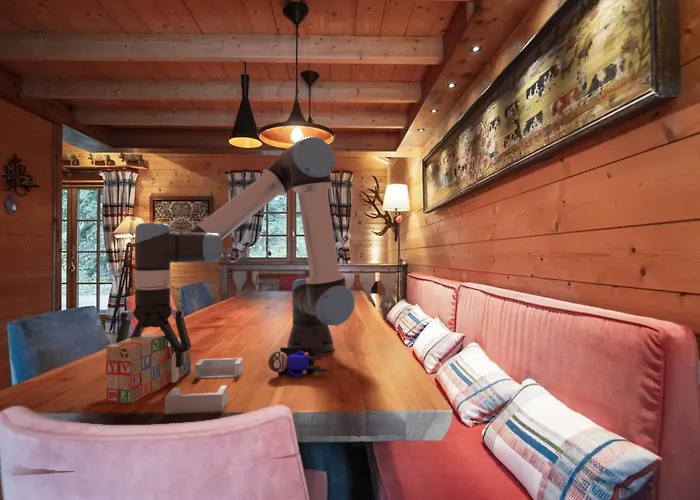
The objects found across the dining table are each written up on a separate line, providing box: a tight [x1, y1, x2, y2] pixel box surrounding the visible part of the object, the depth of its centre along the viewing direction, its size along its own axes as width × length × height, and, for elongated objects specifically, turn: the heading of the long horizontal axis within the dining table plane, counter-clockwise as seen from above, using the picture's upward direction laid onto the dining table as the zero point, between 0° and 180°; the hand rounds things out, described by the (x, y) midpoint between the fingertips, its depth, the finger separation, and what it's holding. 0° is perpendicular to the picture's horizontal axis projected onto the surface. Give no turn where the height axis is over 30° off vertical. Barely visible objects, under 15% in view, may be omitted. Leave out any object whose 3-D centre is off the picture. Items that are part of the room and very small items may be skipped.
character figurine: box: [268, 347, 328, 379], centre depth 99 cm, size 8×7×15 cm
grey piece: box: [194, 357, 244, 380], centre depth 100 cm, size 11×5×4 cm, turn 97°
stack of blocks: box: [105, 333, 192, 404], centre depth 92 cm, size 21×6×12 cm, turn 169°
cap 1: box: [164, 384, 228, 416], centre depth 79 cm, size 11×5×4 cm, turn 97°
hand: (153, 381), depth 92 cm, fingers open, 9 cm apart
